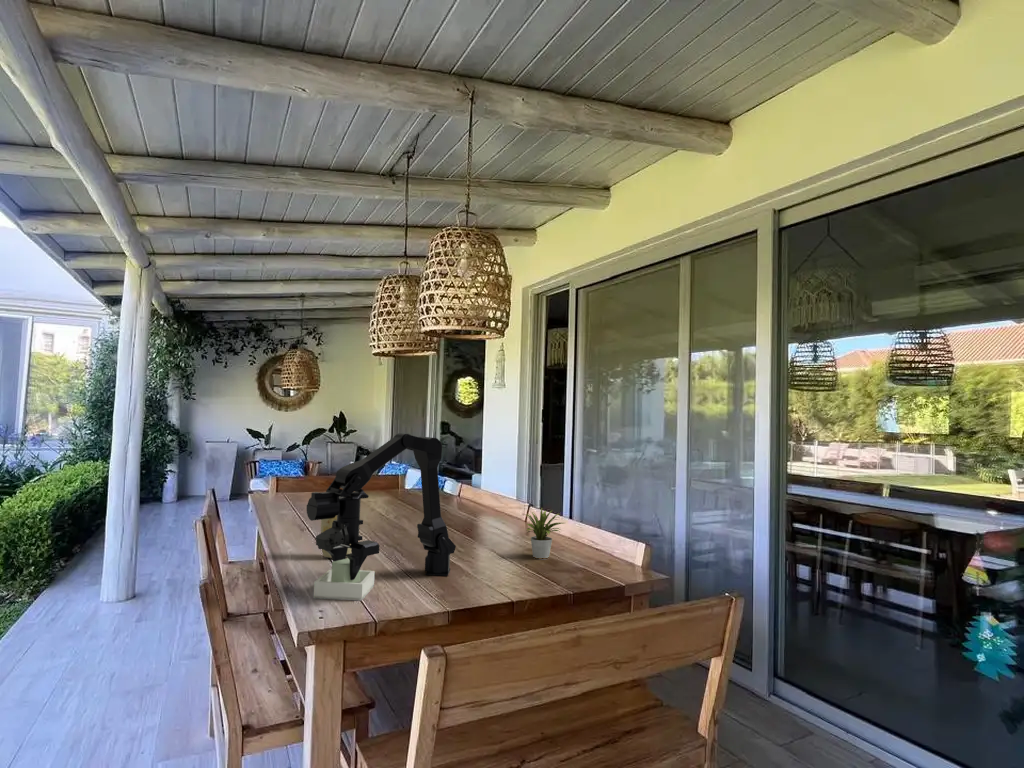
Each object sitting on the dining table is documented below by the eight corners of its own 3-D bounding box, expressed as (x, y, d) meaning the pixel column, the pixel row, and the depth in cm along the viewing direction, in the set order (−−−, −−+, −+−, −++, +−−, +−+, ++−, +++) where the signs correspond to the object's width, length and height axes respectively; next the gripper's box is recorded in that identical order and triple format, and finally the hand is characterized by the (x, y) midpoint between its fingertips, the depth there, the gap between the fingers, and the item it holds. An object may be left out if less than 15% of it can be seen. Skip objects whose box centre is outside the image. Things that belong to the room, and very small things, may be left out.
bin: (373, 586, 159) (374, 570, 160) (361, 600, 147) (362, 584, 148) (329, 584, 160) (330, 569, 160) (313, 598, 148) (314, 582, 148)
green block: (347, 577, 157) (348, 558, 157) (359, 581, 154) (360, 561, 154) (331, 581, 153) (332, 561, 153) (343, 585, 150) (344, 565, 150)
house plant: (537, 566, 186) (538, 513, 186) (508, 556, 196) (510, 506, 197) (569, 560, 195) (571, 509, 195) (541, 551, 205) (542, 503, 206)
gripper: (299, 515, 153) (296, 576, 153) (346, 526, 142) (343, 592, 142) (335, 510, 162) (332, 568, 162) (382, 519, 151) (379, 582, 151)
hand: (345, 577), depth 154 cm, fingers closed on green block, 5 cm apart
